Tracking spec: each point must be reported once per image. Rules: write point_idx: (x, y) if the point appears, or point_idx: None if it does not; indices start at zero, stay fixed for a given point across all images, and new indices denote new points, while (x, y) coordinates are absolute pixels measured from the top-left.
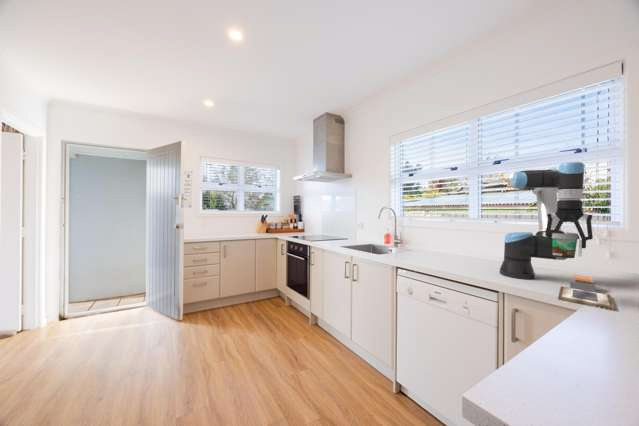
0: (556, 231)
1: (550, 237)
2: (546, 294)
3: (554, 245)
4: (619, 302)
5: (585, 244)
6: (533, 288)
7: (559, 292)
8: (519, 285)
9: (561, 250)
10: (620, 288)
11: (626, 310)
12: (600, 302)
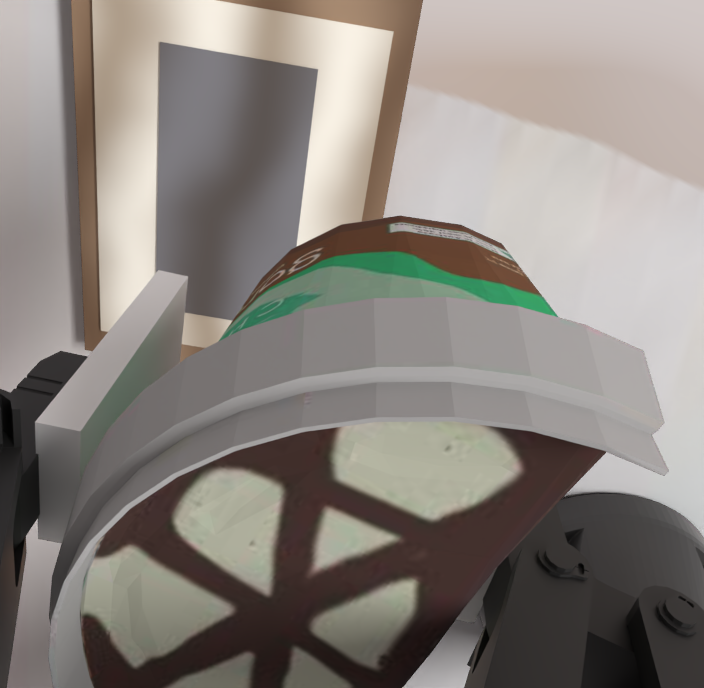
0: (510, 681)
1: (582, 568)
2: (484, 115)
3: (523, 293)
4: (48, 237)
5: (16, 394)
6: (549, 254)
7: (388, 181)
8: (644, 283)
9: (403, 246)
10: (40, 587)
11: (13, 26)
12: (145, 38)
